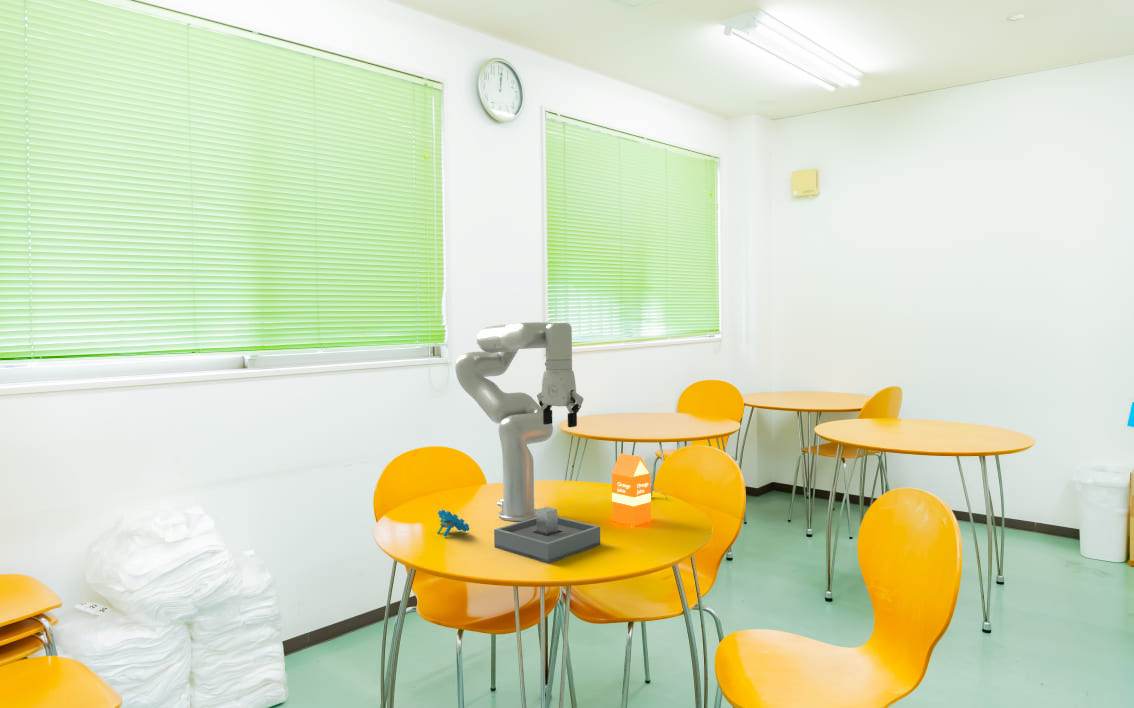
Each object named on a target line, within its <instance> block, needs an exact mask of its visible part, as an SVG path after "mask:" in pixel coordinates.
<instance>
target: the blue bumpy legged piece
mask: <svg viewBox="0 0 1134 708" xmlns="http://www.w3.org/2000/svg"><path fill="white" fill-rule="evenodd" d="M437 514H438V518H439V519H440V520H439V523H440V524H439V525H440V527H439V528H438V530H437V532H436V533H437V534H439V535H440V533H441V532H442V531H443V529H444V528H445V531H444V533H443V534H442V536H444V537H446V538H447V536H448V535H449V533H450V532H451V530H452V529H453V528H456V530H458V531H463V532H464V533H466V532H468V531H470V529H471V528H470V525H469V524H468V523H466V522H465V520H464V519H463V518H459V515H458V514H455V513H454V514H452V513H451V512H450V511H449V510H446V511H445V510H444V509H441V510H438V512H437Z"/></svg>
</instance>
